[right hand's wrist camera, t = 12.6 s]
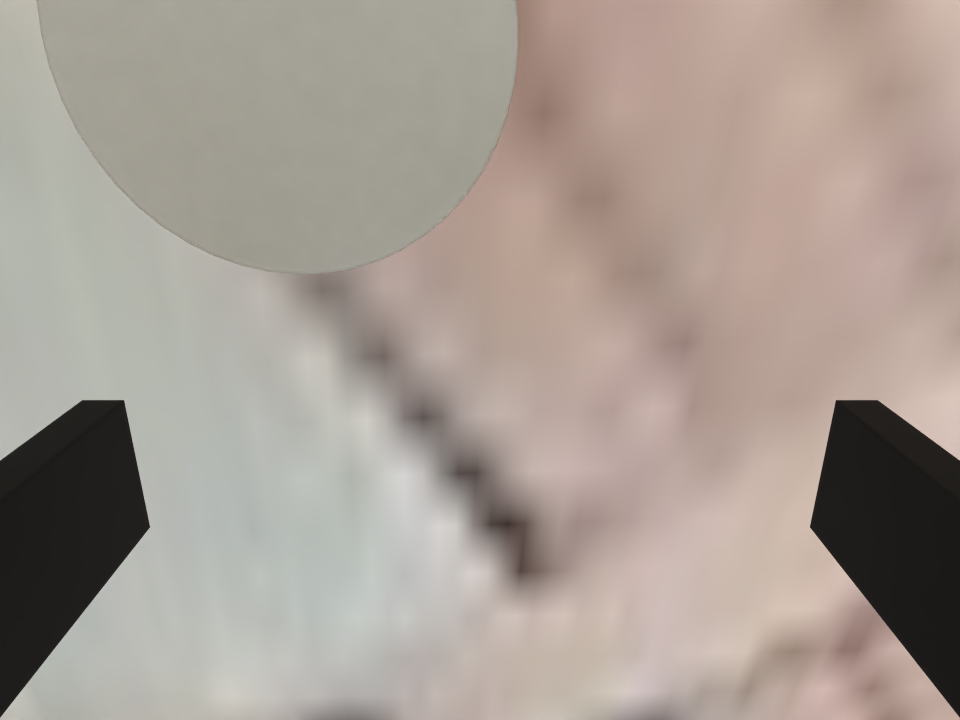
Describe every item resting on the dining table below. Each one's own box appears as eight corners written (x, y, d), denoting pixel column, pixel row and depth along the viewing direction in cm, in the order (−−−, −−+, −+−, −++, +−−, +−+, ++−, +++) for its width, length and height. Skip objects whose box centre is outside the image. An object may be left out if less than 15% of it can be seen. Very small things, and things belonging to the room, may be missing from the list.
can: (207, 61, 24) (-61, 30, 12) (376, -141, 22) (246, -419, 10) (384, 238, 27) (301, 356, 15) (552, 72, 24) (617, 53, 12)
